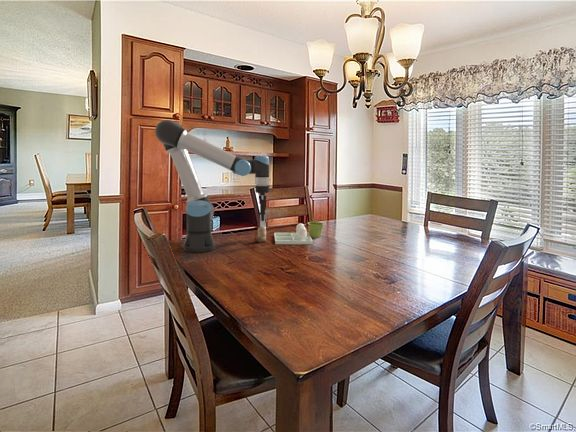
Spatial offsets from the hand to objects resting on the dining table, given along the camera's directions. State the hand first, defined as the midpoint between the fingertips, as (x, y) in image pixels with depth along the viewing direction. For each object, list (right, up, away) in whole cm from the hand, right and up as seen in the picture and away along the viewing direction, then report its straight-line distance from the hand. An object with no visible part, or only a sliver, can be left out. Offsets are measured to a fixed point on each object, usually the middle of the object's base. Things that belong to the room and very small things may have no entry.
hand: (262, 224), depth 187 cm
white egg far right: (+21, -10, -1) cm, 23 cm away
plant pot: (+30, -8, +13) cm, 33 cm away
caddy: (+16, -9, +4) cm, 19 cm away
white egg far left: (+21, -8, +9) cm, 24 cm away
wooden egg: (-1, -10, +2) cm, 10 cm away
